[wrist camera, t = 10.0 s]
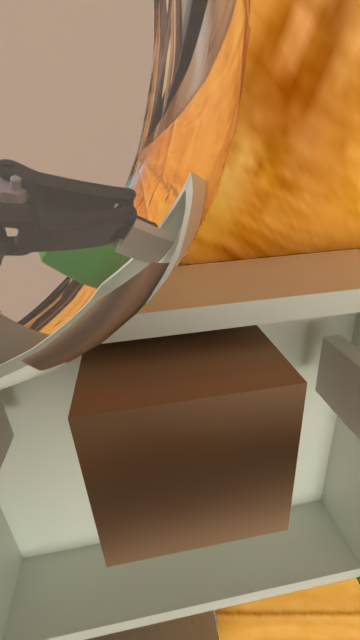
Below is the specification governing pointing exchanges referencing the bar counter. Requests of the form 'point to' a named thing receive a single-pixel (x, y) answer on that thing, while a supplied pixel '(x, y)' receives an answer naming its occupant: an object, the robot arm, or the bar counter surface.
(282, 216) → the bar counter surface
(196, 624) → the container
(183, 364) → the walnut block
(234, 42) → the light bulb
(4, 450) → the robot arm
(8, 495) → the tray
